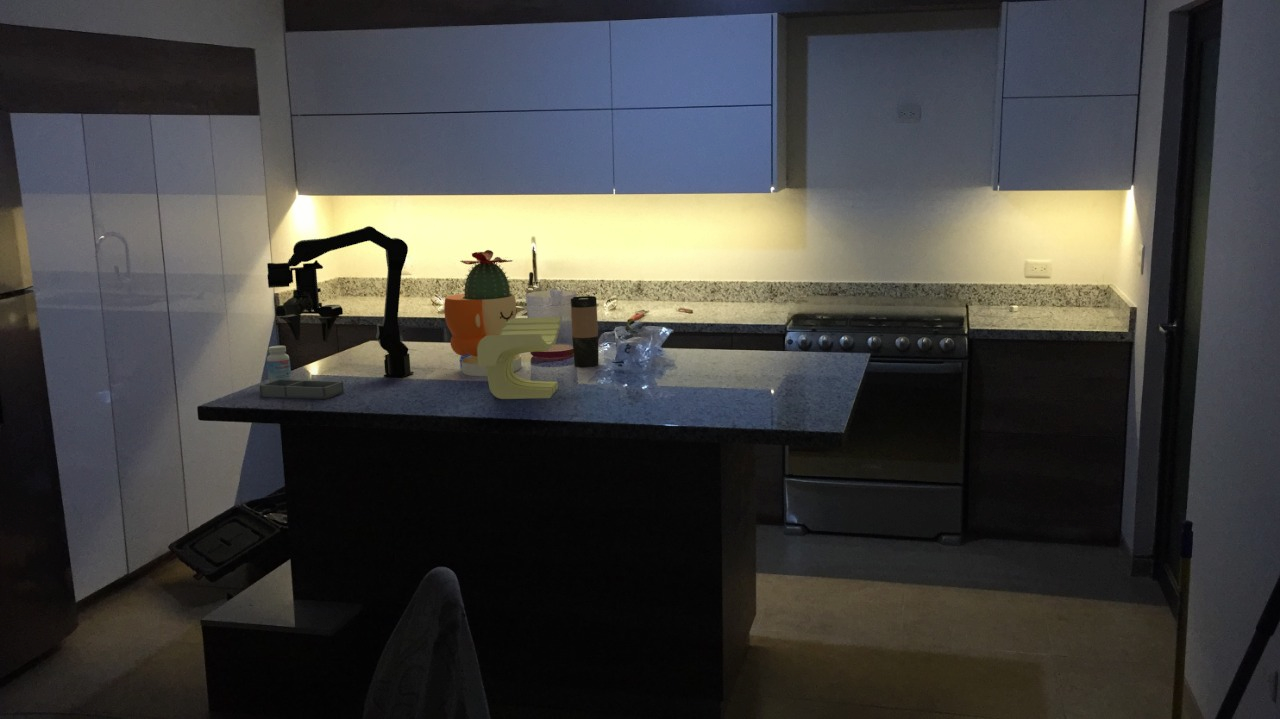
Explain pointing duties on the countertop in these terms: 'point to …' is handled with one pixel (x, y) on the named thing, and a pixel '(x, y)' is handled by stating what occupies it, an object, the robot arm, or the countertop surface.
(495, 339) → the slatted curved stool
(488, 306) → the potted cactus
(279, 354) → the pill bottle
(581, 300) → the travel mug
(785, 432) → the countertop surface
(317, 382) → the tray
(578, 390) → the countertop surface
